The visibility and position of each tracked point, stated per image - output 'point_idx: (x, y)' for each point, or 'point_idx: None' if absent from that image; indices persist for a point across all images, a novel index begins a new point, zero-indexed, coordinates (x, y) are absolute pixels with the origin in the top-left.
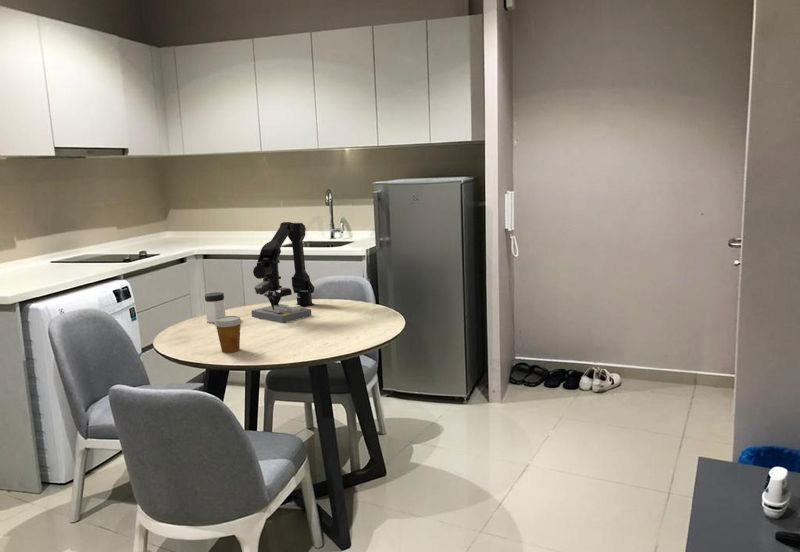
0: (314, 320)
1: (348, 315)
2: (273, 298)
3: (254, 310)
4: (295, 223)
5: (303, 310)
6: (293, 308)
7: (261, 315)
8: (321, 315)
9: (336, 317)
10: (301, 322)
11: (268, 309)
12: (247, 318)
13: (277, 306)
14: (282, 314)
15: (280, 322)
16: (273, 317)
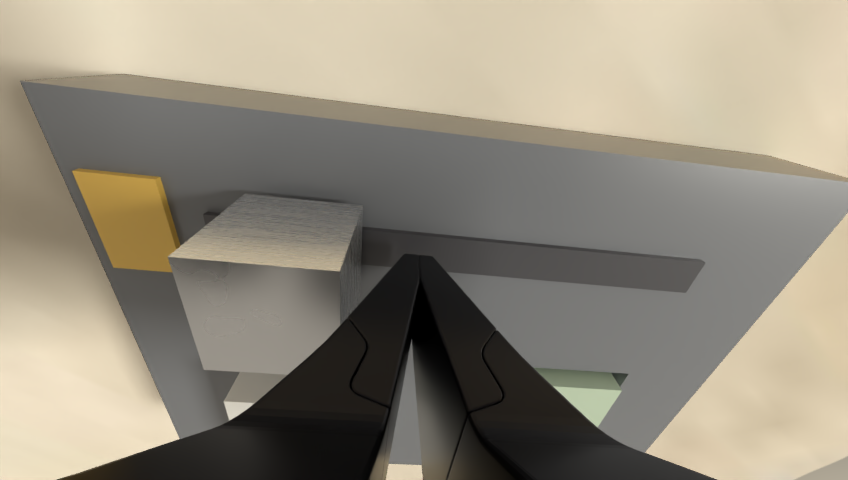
0: (21, 318)
1: (29, 473)
2: (188, 438)
3: (811, 203)
4: None
5: (192, 412)
6: (236, 394)
7: (601, 142)
8: (172, 424)
9: (18, 426)
10: (11, 216)
11: (614, 313)
12: (810, 69)
13: (198, 253)
14: (146, 178)
15: (168, 81)
16: (306, 106)
